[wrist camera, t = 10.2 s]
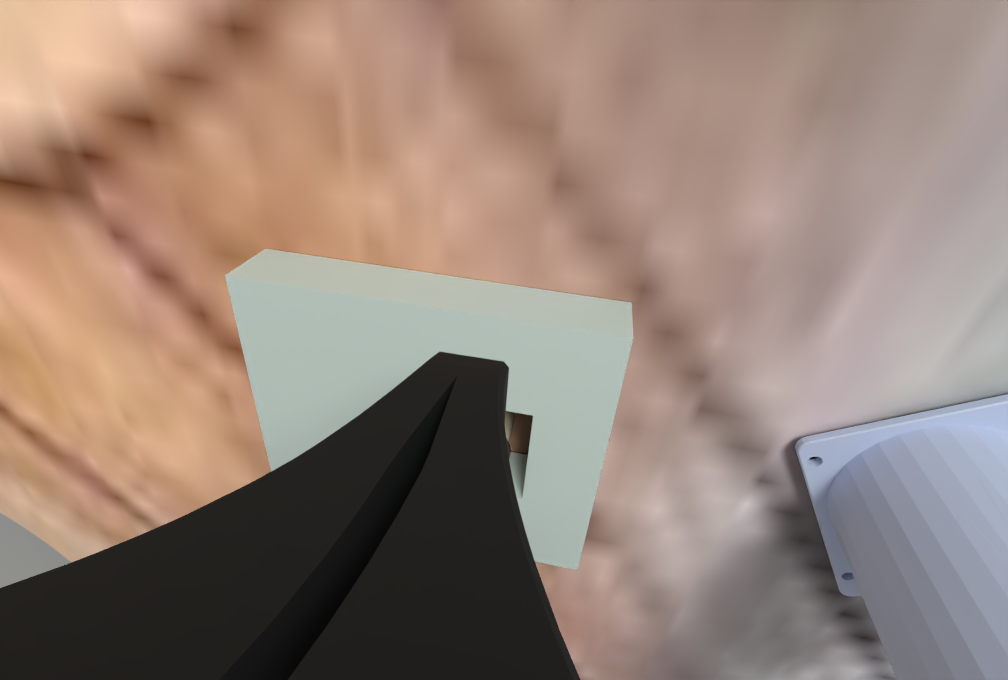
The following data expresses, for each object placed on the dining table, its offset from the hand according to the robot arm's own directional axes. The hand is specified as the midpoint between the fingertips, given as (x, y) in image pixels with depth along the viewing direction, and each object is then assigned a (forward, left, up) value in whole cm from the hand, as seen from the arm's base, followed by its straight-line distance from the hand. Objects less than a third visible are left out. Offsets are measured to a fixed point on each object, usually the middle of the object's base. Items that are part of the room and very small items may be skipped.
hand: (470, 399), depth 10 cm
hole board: (-5, +7, -9) cm, 13 cm away
